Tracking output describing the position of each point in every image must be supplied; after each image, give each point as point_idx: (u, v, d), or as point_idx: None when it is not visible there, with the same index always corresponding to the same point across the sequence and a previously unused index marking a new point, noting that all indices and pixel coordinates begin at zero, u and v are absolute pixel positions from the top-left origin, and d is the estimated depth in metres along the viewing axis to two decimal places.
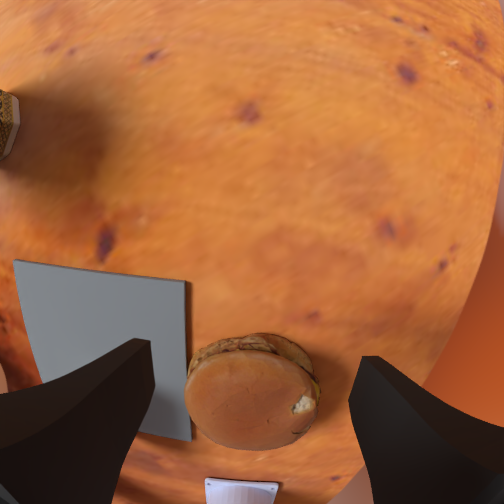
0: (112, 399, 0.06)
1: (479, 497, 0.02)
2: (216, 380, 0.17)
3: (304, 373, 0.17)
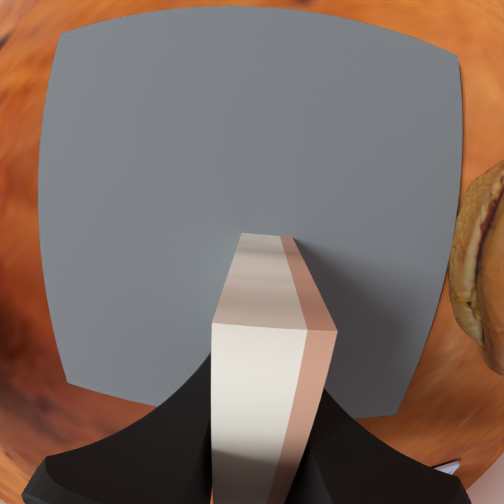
0: None
1: None
2: None
3: None
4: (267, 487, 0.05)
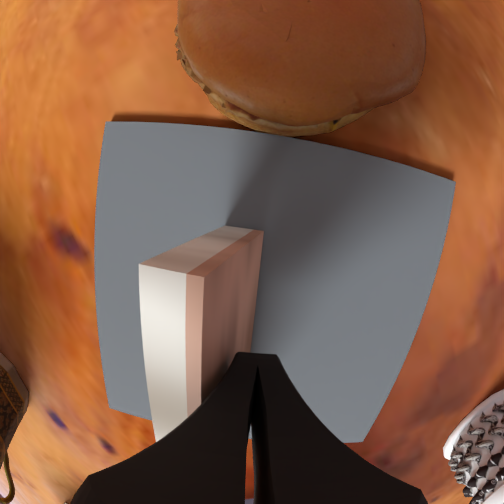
0: (248, 422, 0.06)
1: None
2: (203, 32, 0.07)
3: None
4: (184, 410, 0.07)
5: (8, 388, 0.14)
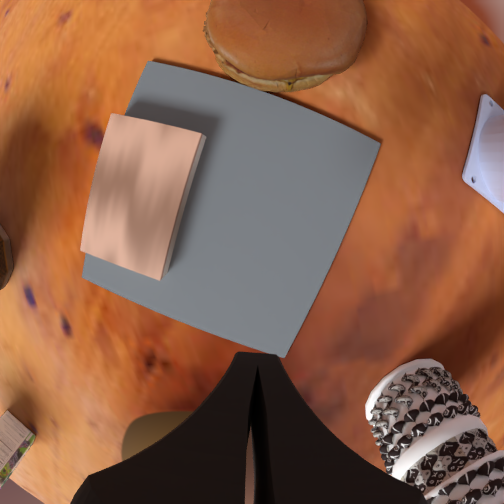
0: (248, 422, 0.06)
1: None
2: (220, 17, 0.12)
3: None
4: None
5: (0, 254, 0.18)
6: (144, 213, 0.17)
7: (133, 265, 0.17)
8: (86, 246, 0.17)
